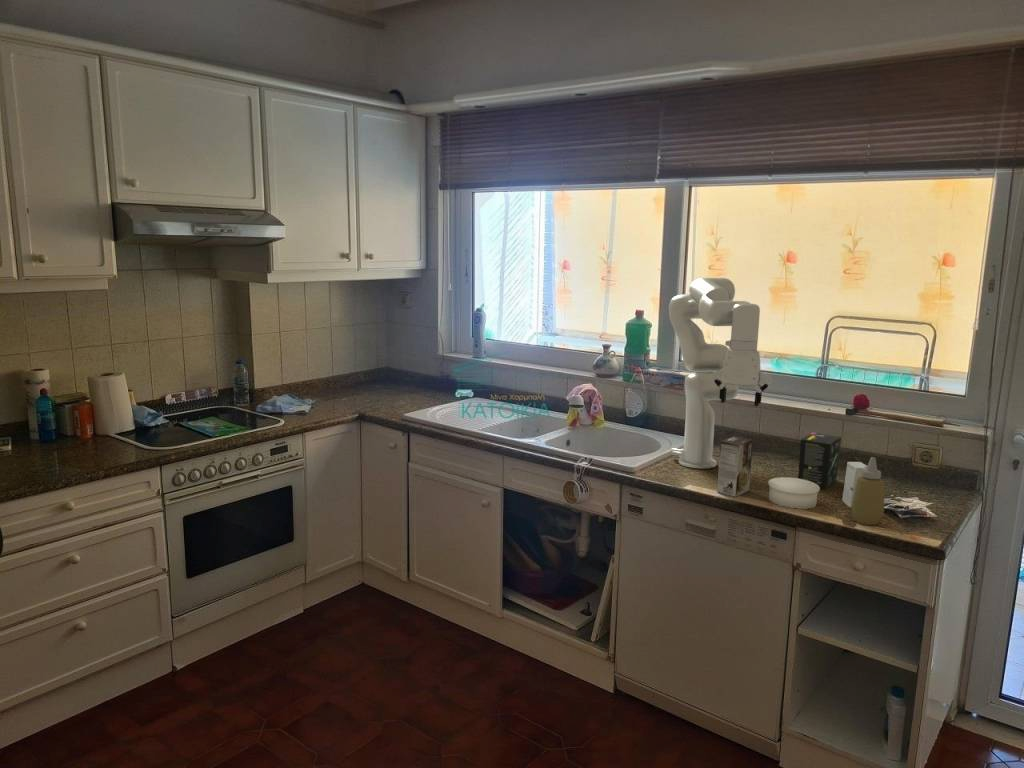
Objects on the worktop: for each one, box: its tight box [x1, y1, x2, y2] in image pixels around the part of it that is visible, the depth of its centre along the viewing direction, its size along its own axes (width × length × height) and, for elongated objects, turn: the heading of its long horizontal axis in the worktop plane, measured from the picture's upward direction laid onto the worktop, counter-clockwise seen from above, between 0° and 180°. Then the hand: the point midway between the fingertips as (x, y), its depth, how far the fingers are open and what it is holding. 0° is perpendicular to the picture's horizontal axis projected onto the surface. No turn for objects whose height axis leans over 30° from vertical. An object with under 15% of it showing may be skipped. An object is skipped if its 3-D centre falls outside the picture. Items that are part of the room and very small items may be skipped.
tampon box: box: [797, 431, 842, 490], centre depth 234 cm, size 11×9×15 cm
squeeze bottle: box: [851, 456, 885, 526], centre depth 200 cm, size 8×8×18 cm
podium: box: [767, 476, 821, 510], centre depth 217 cm, size 14×14×5 cm
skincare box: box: [842, 461, 868, 509], centre depth 214 cm, size 6×4×12 cm
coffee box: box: [716, 435, 753, 498], centre depth 224 cm, size 9×6×16 cm
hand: (739, 403), depth 220 cm, fingers open, 9 cm apart
